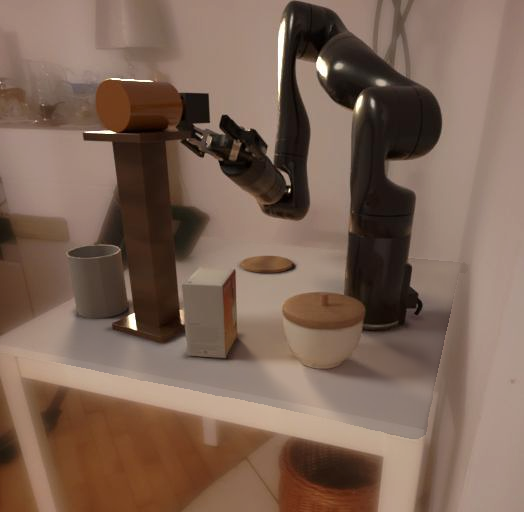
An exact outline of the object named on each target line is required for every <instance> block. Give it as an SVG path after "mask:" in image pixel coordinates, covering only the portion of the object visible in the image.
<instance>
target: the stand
mask: <svg viewBox="0 0 524 512" xmlns="http://www.w3.org/2000/svg"><path fill="white" fill-rule="evenodd" d="M82 139H83V141H85V142H103V143H104V142H105V143H106V142H108V143H111V144H112V152H113V160H114V168H115V176H116V183H117V191H118V198H119V199H118V200H119V207H120V214H121V223H122V230H123V237H124V243H125V244H124V245H125V252H126V260H127V261H126V262H127V268H128V276H129V282H130V284H129V285H130V291H131V300H132V307H133V313H131V314H129V315H127V316H124V317H123V318H120V319H118V320H116V321H114V322H111V329H112V330H113V331H118V332H121V333H125V334H128V335H132V336H136V337H140V338H142V339H146V340H150V341H153V342H157V343H160V344H163V343H165V342H166V341H168V340H170V339H172V338H174V337H175V336H178V335H179V334H180V333H182V332H185V321H184V309H181V308H180V298H179V297H180V296H179V286H178V275H177V274H178V273H177V263H176V262H177V261H176V250H175V237H174V226H173V214H172V213H173V212H172V203H171V201H172V200H171V191H170V179H169V168H168V167H169V166H168V157H167V156H168V155H167V143H166V142H169V141H170V142H171V141H180V140H182V139H191V131H179V130H178V129H176V130H175V129H174V130H173V129H170V130H156V131H139V132H121V133H114V132H111V131H109V130H99V131H82Z"/></svg>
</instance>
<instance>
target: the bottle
mask: <svg viewBox="0 0 524 512" xmlns="http://www.w3.org/2000/svg"><path fill="white" fill-rule="evenodd" d="M179 93H180V92H179V91H178V89H177V88H176V87H175V86H174V85H173V84H171V83H170V82H167V81H155V80H137V79H121V78H106V79H104V80H103V81H101V82H100V84H99V85H98V86H97V89H96V91H95V98H94V99H95V100H94V103H95V105H94V106H95V110H96V114H97V117H98V119H99V121H100V124H102V125H103V127H104V128H105V129H106V130H107V131H111V132H114V133H121V132H139V131H156V130H173V129H175V128H176V126H177V125H178V123H179V121H180V119H181V116H182V115H184V101H183V97H180V95H179Z"/></svg>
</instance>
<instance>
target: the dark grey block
mask: <svg viewBox="0 0 524 512" xmlns="http://www.w3.org/2000/svg"><path fill="white" fill-rule="evenodd" d="M178 93H179V95H180V97H183V101H184V115H182V116H181V119H180V121H179V123H178V124H193V125H198V124H210V123H211V114H210V93H208V92H207V93H206V92H178Z"/></svg>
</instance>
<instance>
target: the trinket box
mask: <svg viewBox="0 0 524 512" xmlns="http://www.w3.org/2000/svg"><path fill="white" fill-rule="evenodd" d="M281 306H282V307H281V308H282V309H281V310H282V311H281V312H282V326H283V335H284V338H285V342H286V344H287V347H288V348H289V350H290V351H291V353H292V354H293V356H295V357H296V358H297V359H298V361H299V362H300V364H302V365H304V366H306V367H309V368H312V369H319V370H328V369H333V368H337V367H339V366H340V365H342V364H343V362H344V361H345V360H347V359H348V358H350V357H351V355H352V354H353V353H354V352H355V350H356V349H357V347H358V345H359V343H360V340H361V336H362V332H363V329H362V328H363V320H364V317H365V306H364V305H363V304H362V303H361V302H360V301H359V300H357V299H355V298H353V297H350V296H346V295H344V293H343V294H342V293H336V292H328V291H312V292H311V291H310V292H305V293H299V294H295V295H292V296H290V297H288V298H287V299H286V300H285V301H284V302H283V303H282V305H281Z"/></svg>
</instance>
